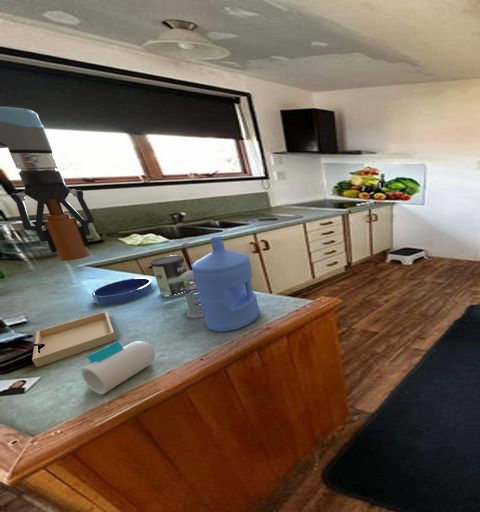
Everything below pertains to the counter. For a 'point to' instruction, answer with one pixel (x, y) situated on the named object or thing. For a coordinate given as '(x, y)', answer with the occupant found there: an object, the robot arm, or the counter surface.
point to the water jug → (225, 288)
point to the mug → (116, 364)
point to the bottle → (64, 233)
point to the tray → (72, 338)
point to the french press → (194, 307)
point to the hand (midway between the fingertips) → (71, 248)
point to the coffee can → (170, 275)
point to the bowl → (122, 291)
